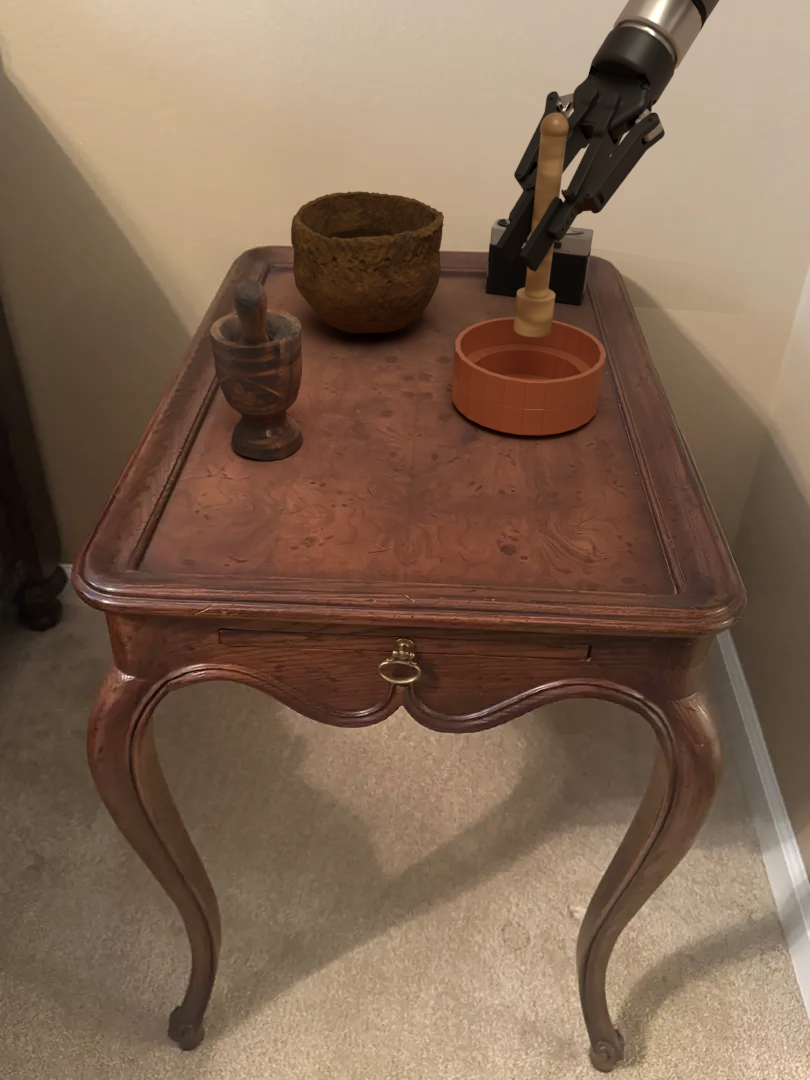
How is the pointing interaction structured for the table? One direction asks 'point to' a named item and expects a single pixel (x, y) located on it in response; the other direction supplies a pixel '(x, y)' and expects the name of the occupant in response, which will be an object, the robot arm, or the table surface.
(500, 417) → the mixing bowl
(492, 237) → the camera
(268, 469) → the table surface
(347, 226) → the bowl
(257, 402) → the mortar and pestle
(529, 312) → the muddler
